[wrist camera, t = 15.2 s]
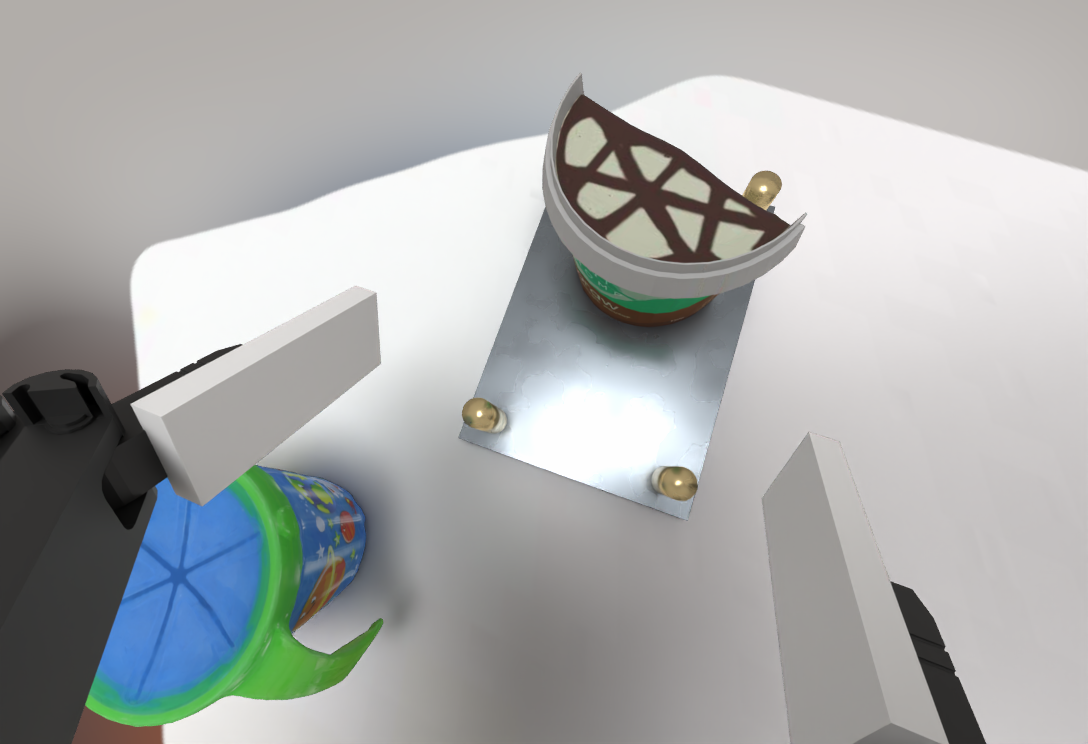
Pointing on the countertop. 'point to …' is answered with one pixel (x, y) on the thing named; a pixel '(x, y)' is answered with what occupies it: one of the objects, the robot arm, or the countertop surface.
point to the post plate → (607, 381)
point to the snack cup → (231, 599)
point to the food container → (650, 218)
